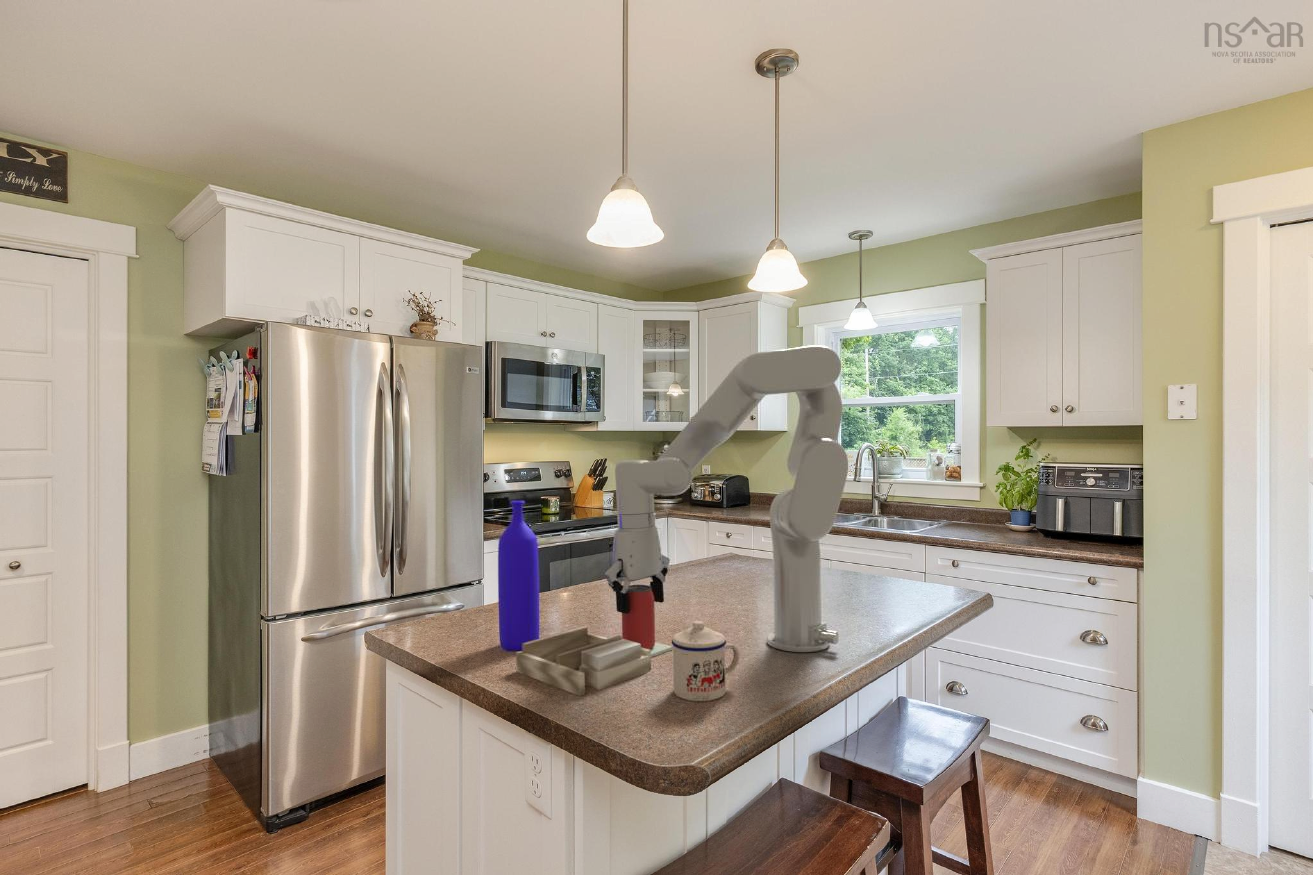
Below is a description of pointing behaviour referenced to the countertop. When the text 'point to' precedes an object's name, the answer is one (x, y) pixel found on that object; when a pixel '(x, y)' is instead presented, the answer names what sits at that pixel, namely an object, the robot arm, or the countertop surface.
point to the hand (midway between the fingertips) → (640, 606)
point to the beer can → (640, 617)
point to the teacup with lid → (701, 663)
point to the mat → (660, 649)
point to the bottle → (518, 583)
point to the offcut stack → (613, 663)
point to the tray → (562, 658)
